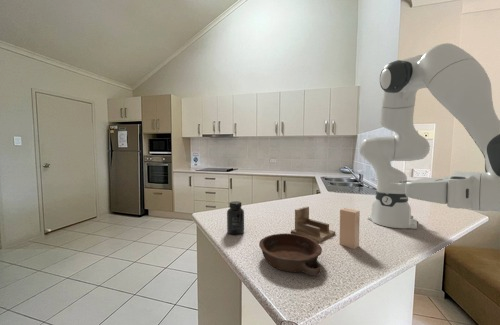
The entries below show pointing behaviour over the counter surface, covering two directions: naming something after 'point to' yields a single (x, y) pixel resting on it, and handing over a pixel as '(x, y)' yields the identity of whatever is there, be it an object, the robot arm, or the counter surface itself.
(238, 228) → the supplement bottle
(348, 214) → the clay block
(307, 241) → the dish
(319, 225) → the tan railed base plate
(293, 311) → the counter surface
